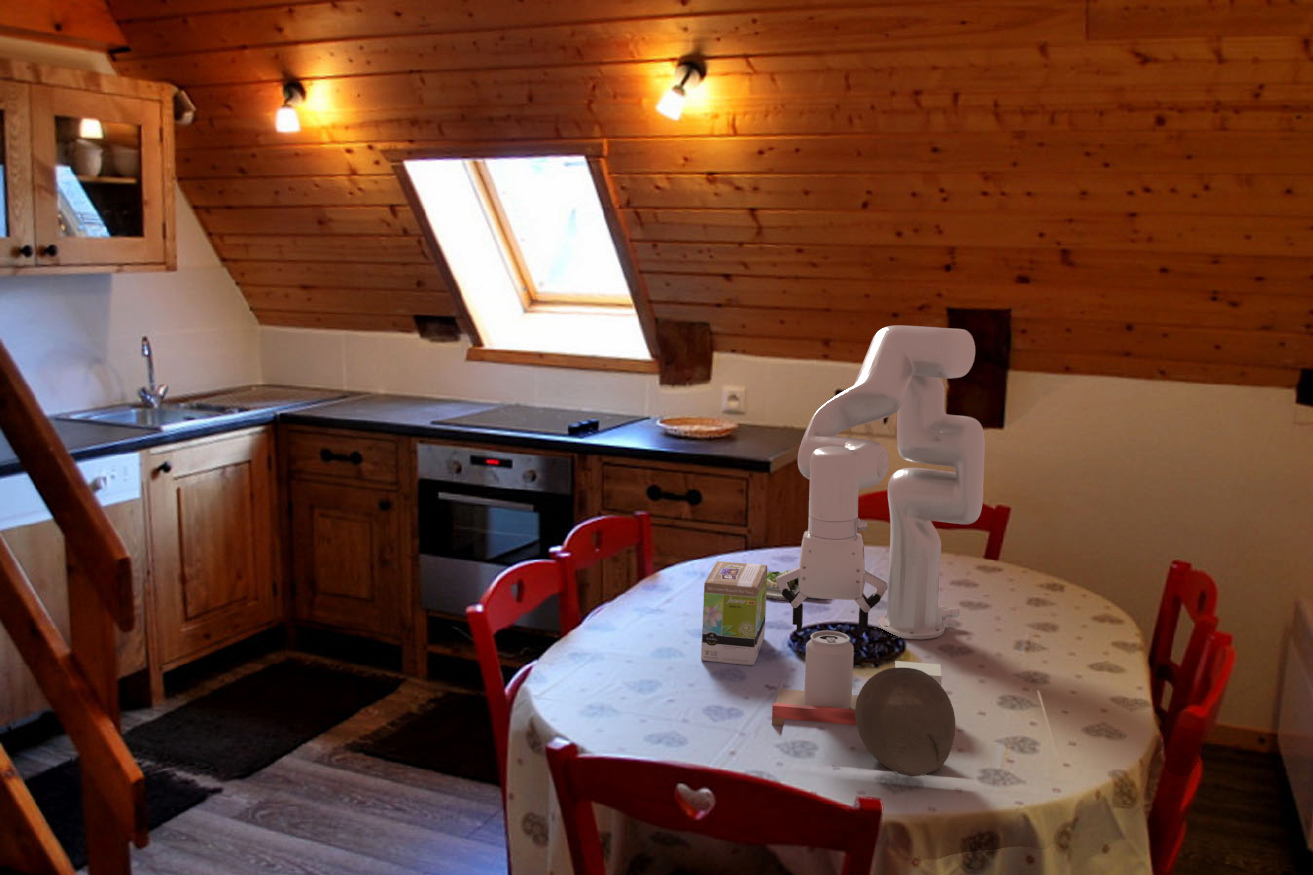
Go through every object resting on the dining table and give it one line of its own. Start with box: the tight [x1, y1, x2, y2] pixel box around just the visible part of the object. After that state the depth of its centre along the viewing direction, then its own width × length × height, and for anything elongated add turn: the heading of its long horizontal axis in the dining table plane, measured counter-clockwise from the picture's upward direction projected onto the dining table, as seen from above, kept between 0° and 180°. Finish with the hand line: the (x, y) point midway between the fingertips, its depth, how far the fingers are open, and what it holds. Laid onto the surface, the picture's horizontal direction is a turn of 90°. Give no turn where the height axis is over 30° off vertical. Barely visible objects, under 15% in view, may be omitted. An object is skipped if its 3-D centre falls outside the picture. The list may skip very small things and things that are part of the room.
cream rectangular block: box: [894, 660, 943, 686], centre depth 191 cm, size 7×5×8 cm
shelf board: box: [771, 688, 859, 727], centre depth 194 cm, size 26×12×3 cm, turn 79°
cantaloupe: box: [855, 667, 956, 778], centre depth 174 cm, size 14×14×15 cm
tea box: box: [700, 560, 768, 666], centre depth 222 cm, size 15×10×15 cm, turn 168°
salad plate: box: [766, 569, 822, 601], centre depth 259 cm, size 19×18×5 cm
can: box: [803, 630, 855, 709], centre depth 193 cm, size 8×8×12 cm
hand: (829, 631), depth 193 cm, fingers open, 9 cm apart
